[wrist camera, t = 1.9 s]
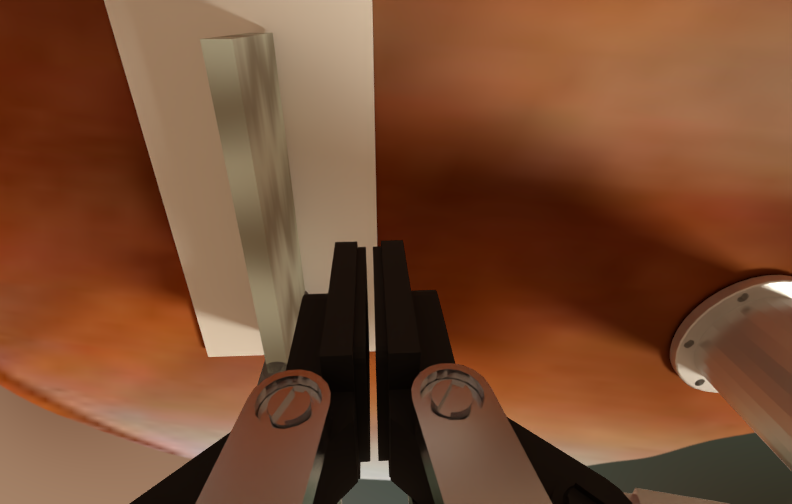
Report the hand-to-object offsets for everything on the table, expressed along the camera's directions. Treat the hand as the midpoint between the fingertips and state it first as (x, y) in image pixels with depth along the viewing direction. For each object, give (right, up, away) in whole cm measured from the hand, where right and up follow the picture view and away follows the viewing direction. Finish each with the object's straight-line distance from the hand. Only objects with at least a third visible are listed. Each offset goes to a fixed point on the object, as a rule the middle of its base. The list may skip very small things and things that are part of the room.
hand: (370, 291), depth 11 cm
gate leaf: (-7, +5, +16) cm, 18 cm away
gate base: (-8, +4, +18) cm, 20 cm away
